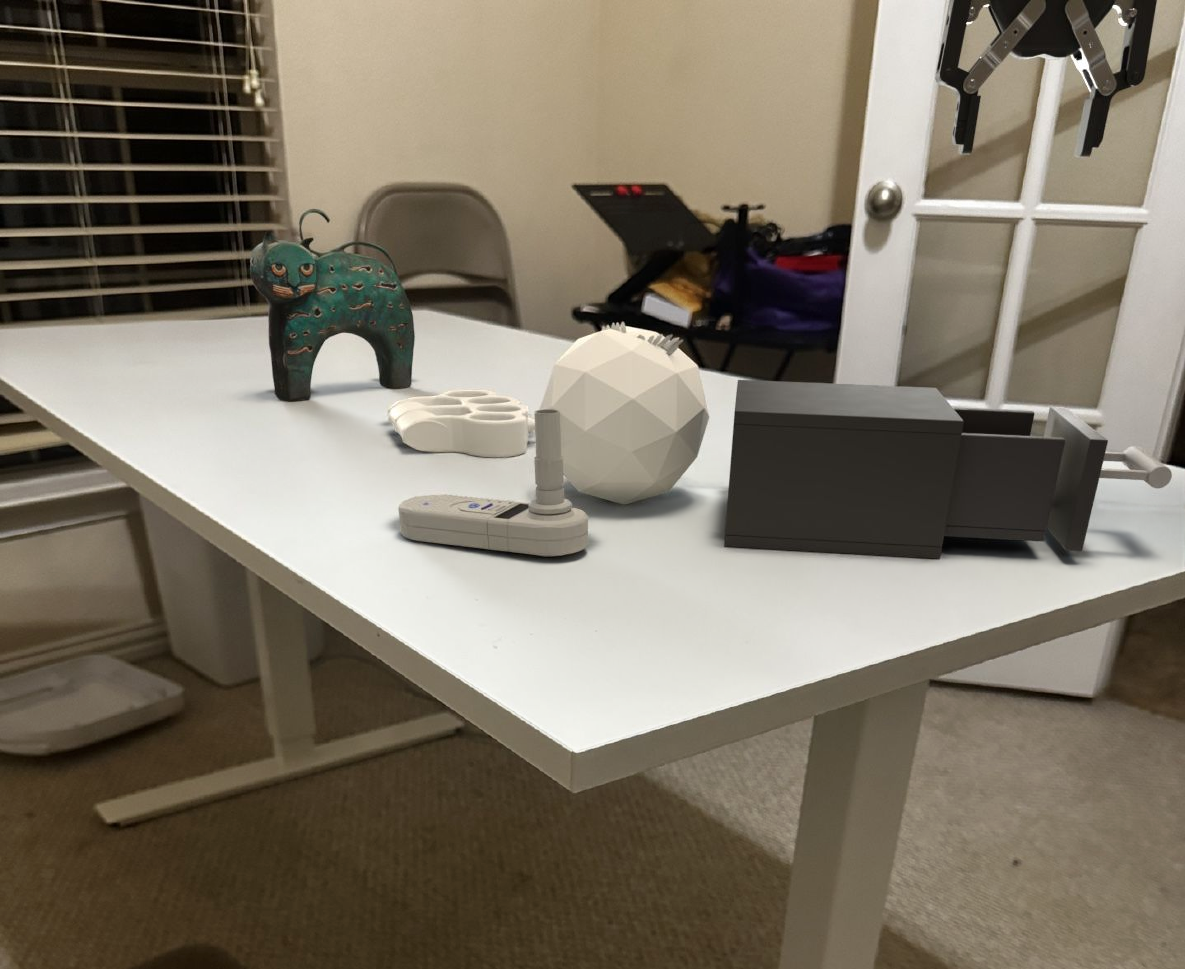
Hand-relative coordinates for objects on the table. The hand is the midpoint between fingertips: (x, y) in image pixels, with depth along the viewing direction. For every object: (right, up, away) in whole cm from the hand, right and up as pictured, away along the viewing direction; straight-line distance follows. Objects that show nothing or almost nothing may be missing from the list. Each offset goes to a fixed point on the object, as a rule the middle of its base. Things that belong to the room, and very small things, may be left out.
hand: (1023, 155), depth 84 cm
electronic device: (-40, -29, 0) cm, 49 cm away
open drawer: (0, -27, +3) cm, 27 cm away
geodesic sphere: (-30, -23, +12) cm, 39 cm away
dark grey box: (-14, -27, +5) cm, 30 cm away
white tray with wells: (-45, -12, +31) cm, 56 cm away
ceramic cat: (-63, +1, +54) cm, 83 cm away
